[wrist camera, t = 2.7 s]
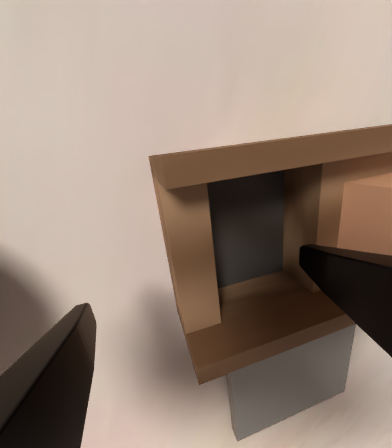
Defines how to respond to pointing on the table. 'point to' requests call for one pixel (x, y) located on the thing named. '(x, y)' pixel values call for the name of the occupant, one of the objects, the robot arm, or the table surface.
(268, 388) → the mat
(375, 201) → the block
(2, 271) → the table surface
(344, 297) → the robot arm
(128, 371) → the table surface
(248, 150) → the divided wooden tray
